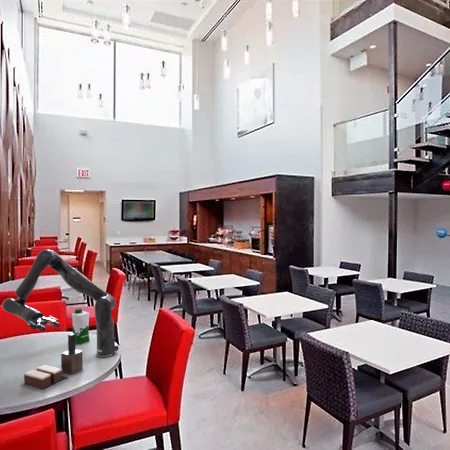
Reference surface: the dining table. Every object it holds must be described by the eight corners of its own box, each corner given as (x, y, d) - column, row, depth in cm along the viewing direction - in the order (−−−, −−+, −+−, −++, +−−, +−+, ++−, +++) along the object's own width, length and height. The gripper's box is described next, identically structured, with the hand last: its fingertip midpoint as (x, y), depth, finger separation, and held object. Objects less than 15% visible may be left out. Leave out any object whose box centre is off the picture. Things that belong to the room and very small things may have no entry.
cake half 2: (36, 378, 178) (36, 367, 178) (44, 374, 182) (44, 364, 182) (54, 383, 173) (54, 372, 173) (62, 379, 177) (62, 368, 177)
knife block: (61, 374, 184) (61, 353, 184) (72, 368, 191) (72, 348, 190) (71, 376, 181) (71, 355, 181) (82, 371, 188) (82, 350, 187)
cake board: (21, 385, 172) (21, 383, 172) (46, 373, 185) (46, 371, 185) (43, 392, 166) (43, 390, 166) (68, 379, 179) (68, 377, 179)
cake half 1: (24, 383, 172) (24, 373, 172) (32, 379, 176) (32, 369, 176) (42, 389, 167) (42, 378, 167) (50, 384, 171) (50, 374, 171)
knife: (67, 372, 186) (67, 334, 185) (71, 370, 188) (71, 333, 187) (72, 373, 184) (72, 335, 183) (76, 371, 186) (75, 334, 186)
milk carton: (82, 338, 236) (82, 307, 235) (91, 341, 231) (91, 309, 231) (70, 342, 229) (69, 310, 228) (79, 345, 224) (79, 312, 223)
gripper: (20, 312, 192) (41, 323, 185) (45, 307, 204) (65, 318, 197) (18, 325, 192) (38, 338, 185) (42, 320, 205) (62, 331, 198)
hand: (52, 327), depth 191 cm, fingers open, 8 cm apart
